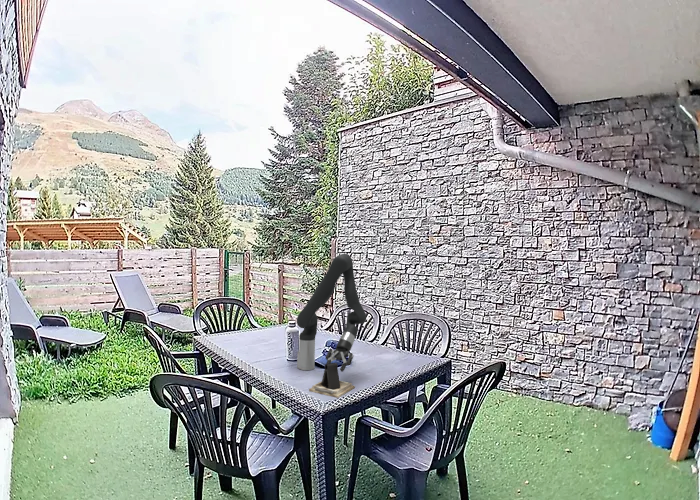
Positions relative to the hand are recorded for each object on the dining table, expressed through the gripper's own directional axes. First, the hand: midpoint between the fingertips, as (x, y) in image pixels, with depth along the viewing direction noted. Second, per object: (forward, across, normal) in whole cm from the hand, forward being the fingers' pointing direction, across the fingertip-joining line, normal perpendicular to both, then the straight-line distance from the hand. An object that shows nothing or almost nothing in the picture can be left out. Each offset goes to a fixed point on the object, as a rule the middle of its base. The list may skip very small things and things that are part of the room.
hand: (334, 369), depth 231 cm
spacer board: (+8, 0, +6) cm, 10 cm away
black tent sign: (+7, -1, +6) cm, 9 cm away
